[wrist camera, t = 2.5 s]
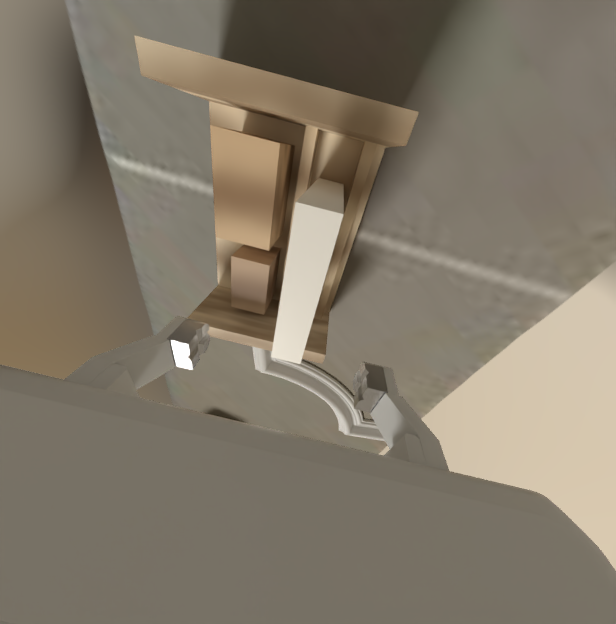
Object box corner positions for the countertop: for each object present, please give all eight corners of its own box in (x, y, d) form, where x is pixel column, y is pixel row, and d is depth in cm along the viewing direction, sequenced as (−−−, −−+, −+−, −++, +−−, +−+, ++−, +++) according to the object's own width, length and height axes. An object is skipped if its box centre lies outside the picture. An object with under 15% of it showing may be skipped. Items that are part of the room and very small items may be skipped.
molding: (403, 428, 50) (406, 441, 48) (358, 440, 56) (359, 452, 53) (266, 305, 34) (261, 316, 32) (223, 339, 40) (216, 351, 38)
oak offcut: (242, 131, 20) (210, 125, 15) (295, 145, 20) (279, 143, 15) (240, 220, 25) (215, 237, 20) (283, 231, 25) (268, 250, 20)
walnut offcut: (248, 240, 26) (231, 255, 22) (281, 248, 26) (269, 265, 22) (246, 286, 30) (231, 306, 26) (274, 293, 30) (264, 314, 26)
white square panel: (318, 177, 21) (295, 201, 11) (343, 184, 21) (343, 214, 11) (297, 282, 29) (271, 357, 18) (315, 287, 29) (300, 364, 18)
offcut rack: (216, 81, 19) (134, 35, 12) (389, 127, 20) (418, 112, 12) (223, 288, 33) (186, 330, 25) (327, 314, 33) (322, 363, 25)
